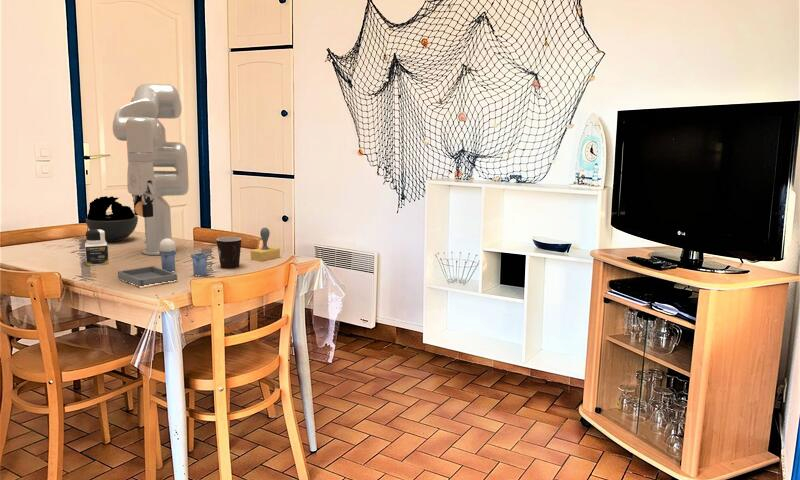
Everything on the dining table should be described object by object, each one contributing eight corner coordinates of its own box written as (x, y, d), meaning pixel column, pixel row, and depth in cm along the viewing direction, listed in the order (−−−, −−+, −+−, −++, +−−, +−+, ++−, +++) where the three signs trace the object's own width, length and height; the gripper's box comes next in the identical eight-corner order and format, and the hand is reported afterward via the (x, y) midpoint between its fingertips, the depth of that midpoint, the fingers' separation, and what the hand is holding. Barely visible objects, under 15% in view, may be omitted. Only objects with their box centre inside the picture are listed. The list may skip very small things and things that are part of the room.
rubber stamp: (260, 262, 238) (260, 230, 236) (250, 259, 241) (249, 228, 239) (280, 257, 246) (279, 226, 244) (269, 255, 249) (269, 225, 247)
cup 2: (190, 274, 216) (190, 254, 215) (202, 272, 219) (202, 252, 218) (197, 277, 213) (197, 256, 212) (209, 275, 216) (208, 254, 215)
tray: (118, 279, 209) (117, 271, 208) (153, 273, 218) (152, 265, 217) (140, 288, 198) (140, 280, 198) (177, 281, 207) (176, 274, 206)
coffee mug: (219, 264, 233) (218, 236, 231) (244, 264, 234) (243, 236, 232) (213, 271, 221) (212, 242, 220) (238, 271, 222) (238, 243, 220)
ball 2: (157, 252, 219) (156, 238, 218) (171, 250, 223) (170, 236, 222) (164, 255, 216) (163, 240, 215) (178, 253, 219) (177, 238, 219)
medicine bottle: (86, 265, 226) (84, 232, 224) (86, 261, 233) (83, 229, 230) (108, 264, 230) (106, 231, 227) (107, 260, 236) (105, 227, 234)
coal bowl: (102, 236, 282) (99, 193, 278) (147, 237, 281) (144, 194, 278) (77, 245, 262) (74, 199, 259) (126, 246, 261) (123, 200, 258)
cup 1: (159, 271, 220) (158, 251, 219) (171, 269, 224) (170, 249, 222) (165, 273, 217) (164, 253, 216) (177, 271, 221) (176, 251, 219)
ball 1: (132, 216, 204) (131, 200, 203) (147, 215, 207) (146, 199, 207) (139, 218, 201) (139, 202, 200) (155, 216, 204) (154, 201, 203)
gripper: (116, 157, 204) (120, 214, 207) (141, 160, 192) (145, 220, 196) (139, 156, 209) (142, 212, 212) (165, 159, 198) (168, 217, 201)
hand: (143, 215), depth 204 cm, fingers closed on ball 1, 4 cm apart
